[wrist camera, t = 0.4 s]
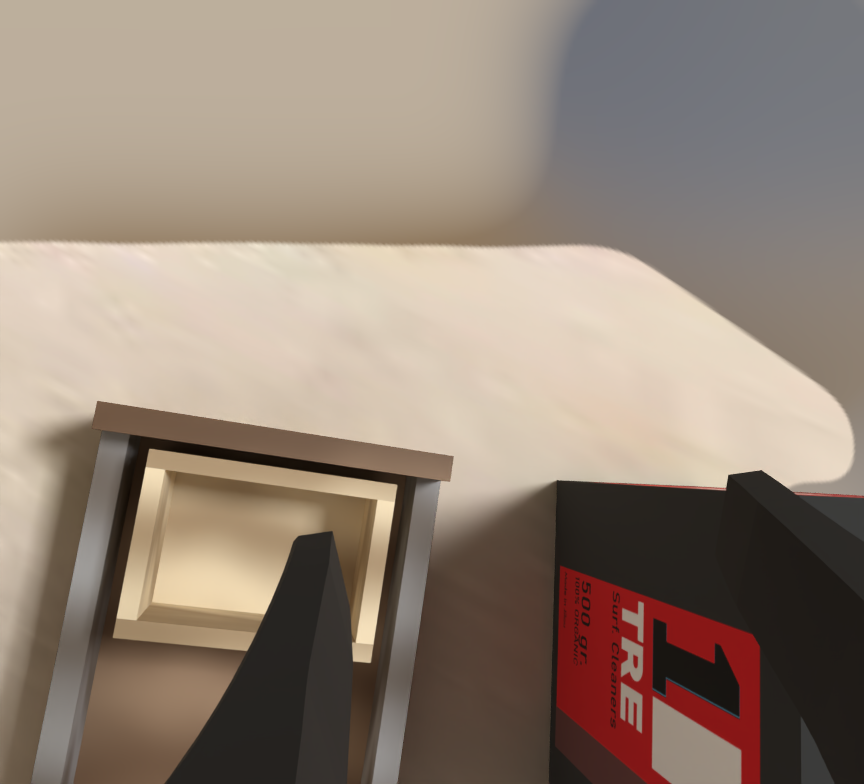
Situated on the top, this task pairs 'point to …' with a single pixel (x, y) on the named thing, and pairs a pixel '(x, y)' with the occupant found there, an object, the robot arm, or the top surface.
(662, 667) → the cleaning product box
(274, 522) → the crate
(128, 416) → the crate bay
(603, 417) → the top surface
